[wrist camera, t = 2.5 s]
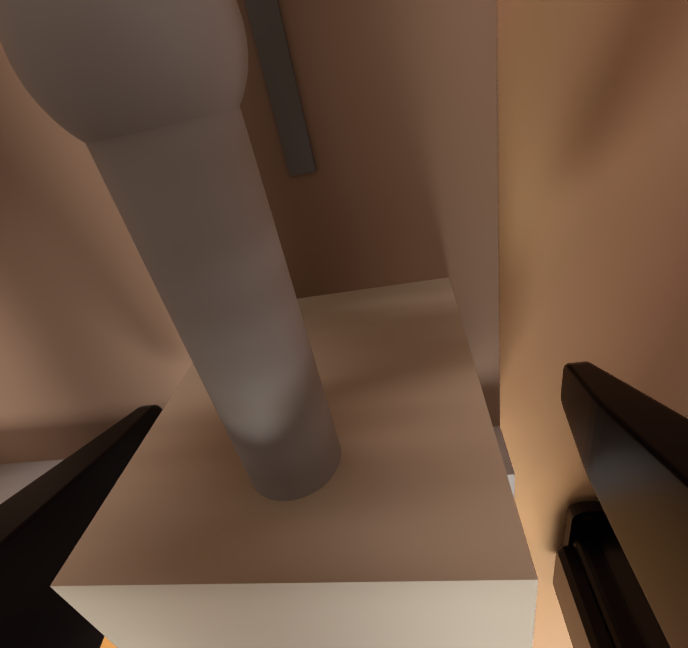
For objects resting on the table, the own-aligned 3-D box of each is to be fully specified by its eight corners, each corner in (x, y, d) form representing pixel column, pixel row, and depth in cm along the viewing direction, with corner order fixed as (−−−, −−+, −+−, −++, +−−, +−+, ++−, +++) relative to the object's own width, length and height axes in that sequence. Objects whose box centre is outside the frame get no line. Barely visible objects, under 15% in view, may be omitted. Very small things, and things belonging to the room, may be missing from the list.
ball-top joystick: (424, -53, 6) (644, -709, 1) (459, 415, 11) (525, 731, 6) (118, 34, 7) (-645, -45, 2) (276, 430, 12) (192, 715, 7)
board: (468, -154, 7) (532, -323, 4) (485, 419, 13) (513, 520, 10) (-362, 110, 10) (-662, 130, 7) (-21, 460, 17) (-107, 544, 14)
